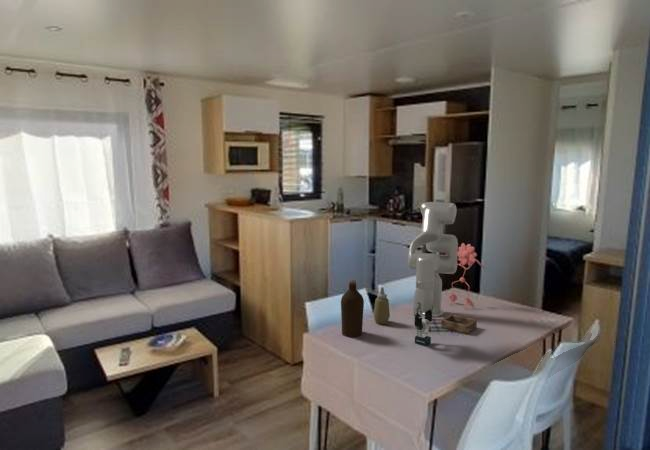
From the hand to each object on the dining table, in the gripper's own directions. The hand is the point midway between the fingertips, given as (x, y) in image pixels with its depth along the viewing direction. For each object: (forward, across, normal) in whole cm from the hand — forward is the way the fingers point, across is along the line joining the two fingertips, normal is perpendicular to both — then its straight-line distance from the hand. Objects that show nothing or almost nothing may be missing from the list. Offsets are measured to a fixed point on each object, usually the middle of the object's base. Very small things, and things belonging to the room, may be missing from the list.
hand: (423, 323), depth 196 cm
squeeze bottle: (+9, -12, -28) cm, 32 cm away
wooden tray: (+9, -29, +5) cm, 30 cm away
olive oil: (+10, +9, -31) cm, 34 cm away
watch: (+10, -1, 0) cm, 10 cm away
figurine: (+8, -66, -7) cm, 67 cm away
